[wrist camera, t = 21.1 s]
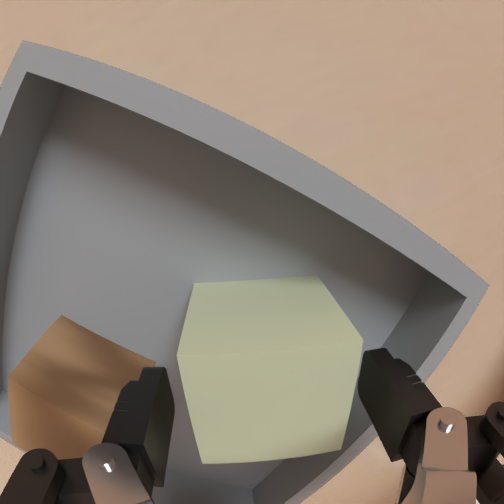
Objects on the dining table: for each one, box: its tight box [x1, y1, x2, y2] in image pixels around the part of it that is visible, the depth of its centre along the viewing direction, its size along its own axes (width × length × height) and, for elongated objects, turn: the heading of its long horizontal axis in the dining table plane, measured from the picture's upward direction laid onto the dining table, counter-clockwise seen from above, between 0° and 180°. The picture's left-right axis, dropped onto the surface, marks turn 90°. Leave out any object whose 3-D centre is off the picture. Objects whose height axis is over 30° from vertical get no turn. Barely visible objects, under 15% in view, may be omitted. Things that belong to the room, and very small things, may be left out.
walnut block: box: [8, 315, 155, 460], centre depth 11 cm, size 5×5×5 cm
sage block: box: [177, 275, 363, 464], centre depth 11 cm, size 5×5×5 cm
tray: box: [0, 40, 489, 504], centre depth 13 cm, size 20×20×4 cm
